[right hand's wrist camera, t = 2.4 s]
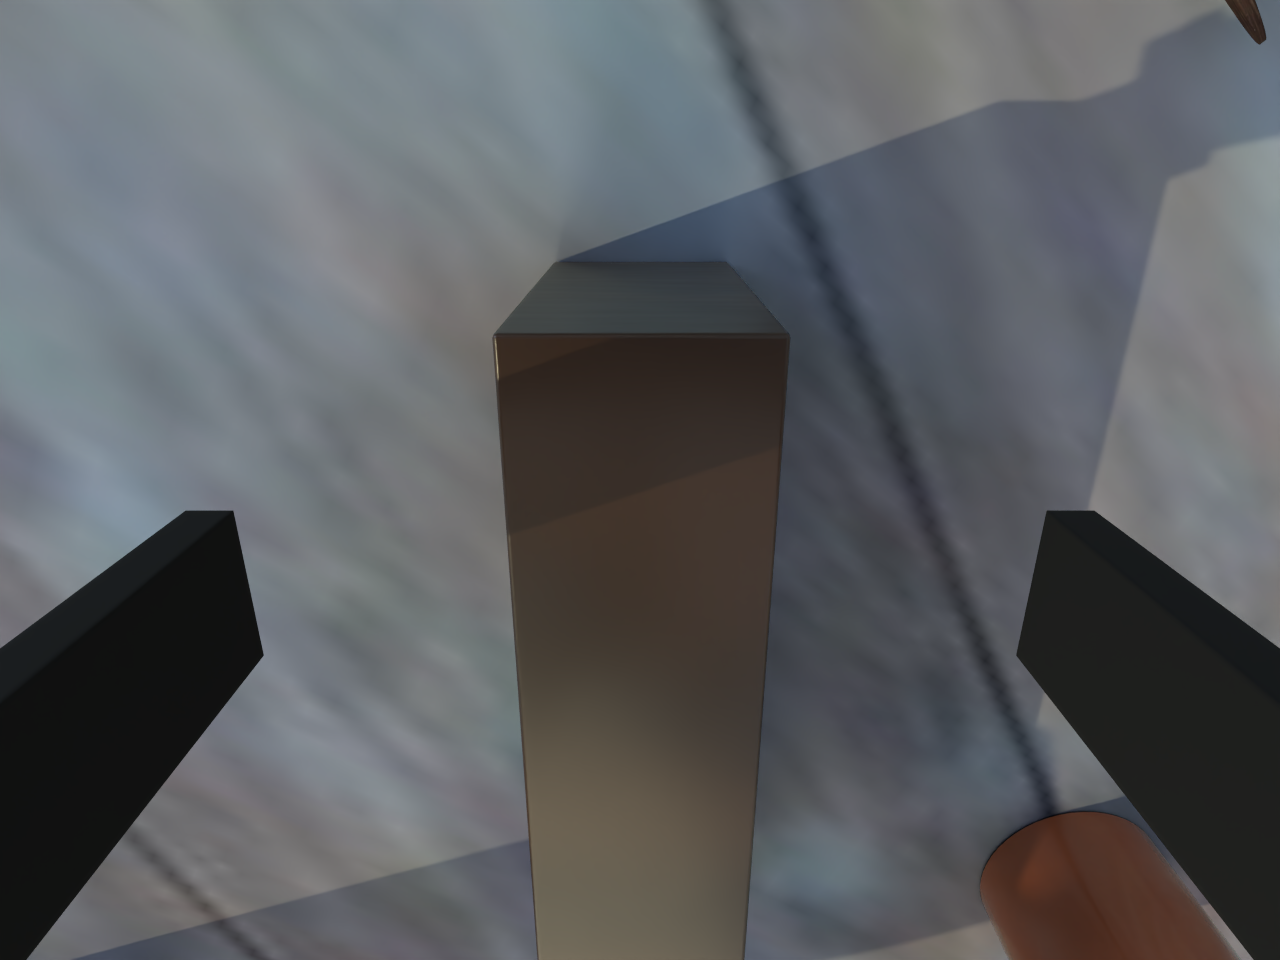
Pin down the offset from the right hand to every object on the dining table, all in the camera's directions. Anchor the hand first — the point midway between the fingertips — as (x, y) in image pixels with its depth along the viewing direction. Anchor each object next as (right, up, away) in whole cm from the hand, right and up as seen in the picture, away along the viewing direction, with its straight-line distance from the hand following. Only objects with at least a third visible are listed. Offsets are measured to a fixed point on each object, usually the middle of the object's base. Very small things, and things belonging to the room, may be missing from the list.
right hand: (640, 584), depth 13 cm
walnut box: (0, -3, +14) cm, 14 cm away
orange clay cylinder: (+17, -14, +18) cm, 29 cm away
